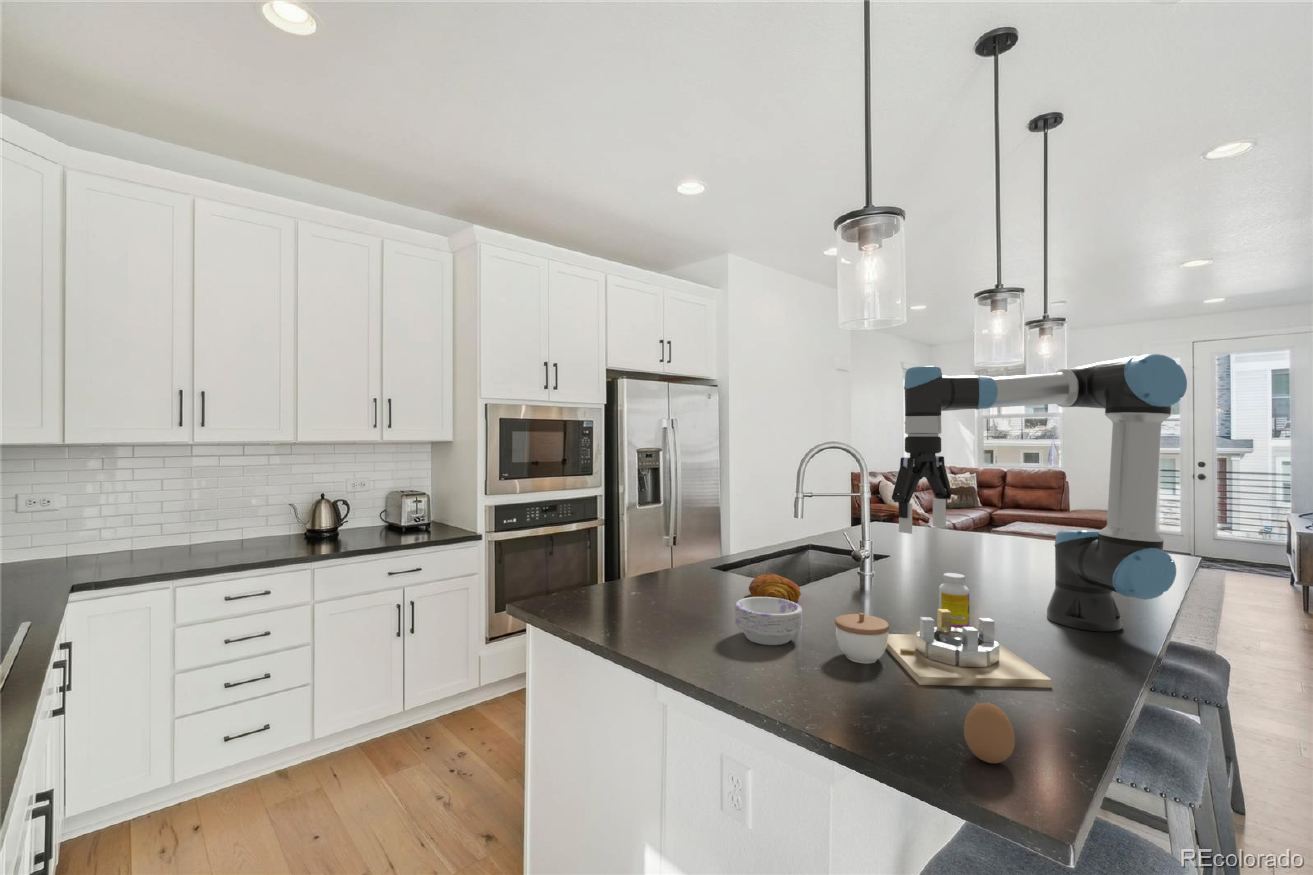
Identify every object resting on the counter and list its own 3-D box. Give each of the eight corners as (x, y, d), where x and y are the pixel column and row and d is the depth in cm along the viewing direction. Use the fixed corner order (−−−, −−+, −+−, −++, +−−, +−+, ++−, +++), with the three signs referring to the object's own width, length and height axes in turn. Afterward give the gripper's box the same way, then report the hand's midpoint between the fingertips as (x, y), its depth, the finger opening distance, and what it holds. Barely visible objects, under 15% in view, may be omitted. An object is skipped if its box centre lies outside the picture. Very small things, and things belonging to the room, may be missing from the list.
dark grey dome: (965, 649, 126) (965, 632, 126) (979, 660, 120) (980, 643, 120) (934, 648, 127) (934, 632, 127) (947, 660, 120) (947, 642, 120)
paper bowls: (814, 638, 138) (814, 603, 138) (779, 656, 126) (779, 618, 126) (758, 623, 148) (758, 592, 148) (721, 639, 137) (721, 604, 137)
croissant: (748, 613, 164) (747, 585, 163) (749, 591, 179) (748, 565, 178) (802, 614, 161) (802, 586, 160) (798, 591, 177) (798, 566, 176)
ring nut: (975, 641, 130) (975, 609, 130) (1011, 667, 116) (1011, 631, 115) (907, 640, 131) (907, 608, 131) (935, 665, 116) (935, 630, 116)
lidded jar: (862, 672, 118) (862, 624, 118) (824, 654, 128) (824, 610, 127) (900, 662, 123) (900, 617, 123) (860, 646, 132) (860, 603, 132)
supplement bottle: (973, 633, 141) (973, 579, 141) (943, 631, 142) (943, 577, 142) (964, 624, 147) (964, 572, 147) (935, 622, 149) (935, 571, 148)
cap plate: (987, 642, 134) (987, 632, 134) (1051, 687, 111) (1051, 675, 110) (878, 640, 136) (878, 630, 136) (919, 684, 112) (919, 672, 112)
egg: (1009, 779, 81) (1009, 719, 81) (958, 761, 86) (958, 704, 86) (1019, 759, 86) (1019, 703, 86) (970, 744, 90) (970, 690, 90)
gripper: (936, 435, 144) (937, 522, 145) (874, 435, 130) (874, 533, 130) (968, 435, 138) (968, 526, 138) (906, 435, 124) (906, 537, 124)
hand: (922, 529), depth 134 cm, fingers open, 13 cm apart
